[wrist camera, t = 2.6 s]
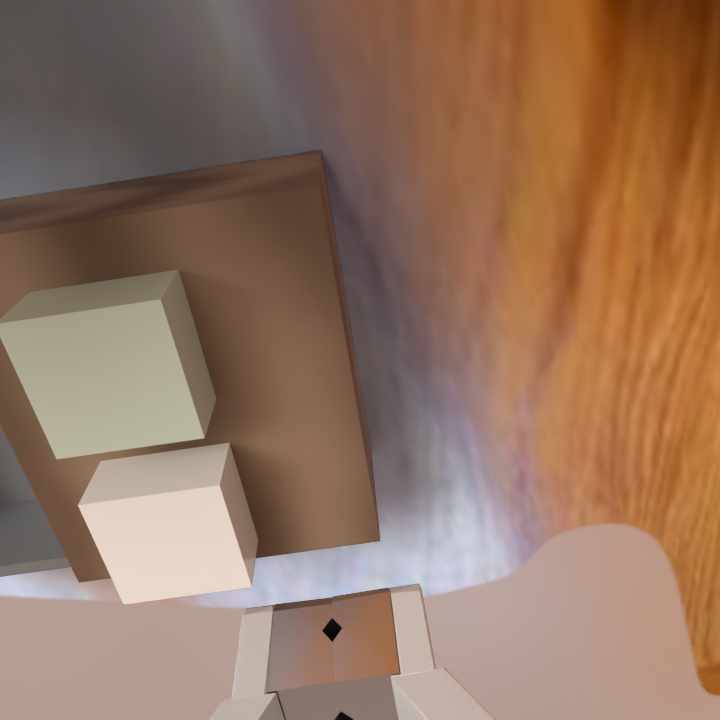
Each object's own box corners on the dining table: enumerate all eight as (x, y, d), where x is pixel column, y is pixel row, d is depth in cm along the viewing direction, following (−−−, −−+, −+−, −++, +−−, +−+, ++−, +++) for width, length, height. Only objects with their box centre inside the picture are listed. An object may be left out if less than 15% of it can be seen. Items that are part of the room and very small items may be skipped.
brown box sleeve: (321, 149, 25) (319, 185, 20) (371, 454, 32) (380, 541, 27) (-1, 200, 25) (-88, 247, 20) (119, 490, 32) (79, 582, 27)
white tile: (229, 442, 24) (219, 485, 22) (258, 539, 26) (251, 586, 24) (100, 461, 24) (77, 505, 22) (140, 555, 27) (123, 604, 24)
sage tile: (178, 269, 21) (160, 299, 19) (216, 398, 23) (204, 438, 21) (29, 292, 21) (-6, 324, 19) (82, 417, 23) (56, 459, 21)
